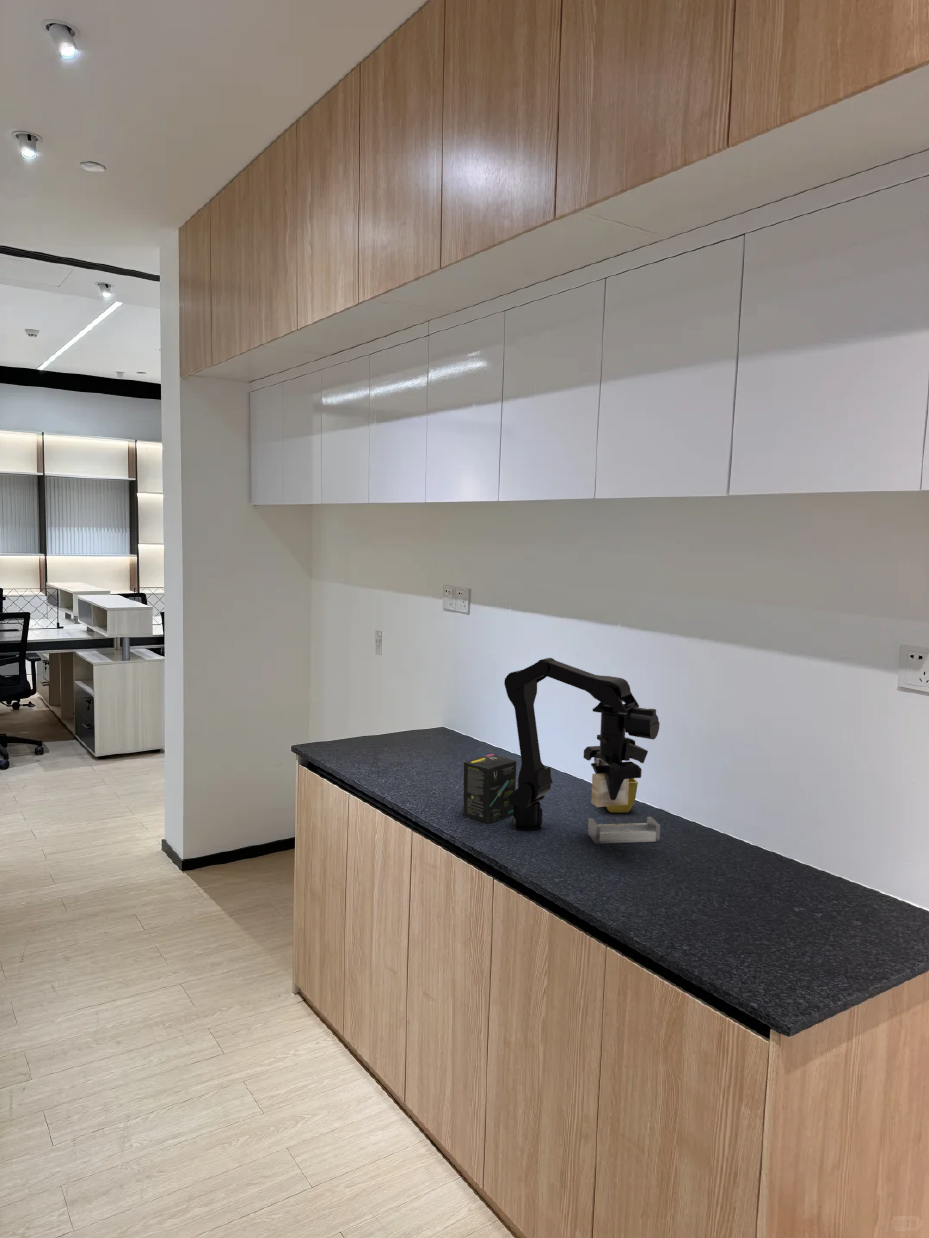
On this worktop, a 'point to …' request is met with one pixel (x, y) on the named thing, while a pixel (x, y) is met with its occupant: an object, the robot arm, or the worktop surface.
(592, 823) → the bottom track
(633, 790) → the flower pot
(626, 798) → the door panel
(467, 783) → the tampon box
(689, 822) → the worktop surface
